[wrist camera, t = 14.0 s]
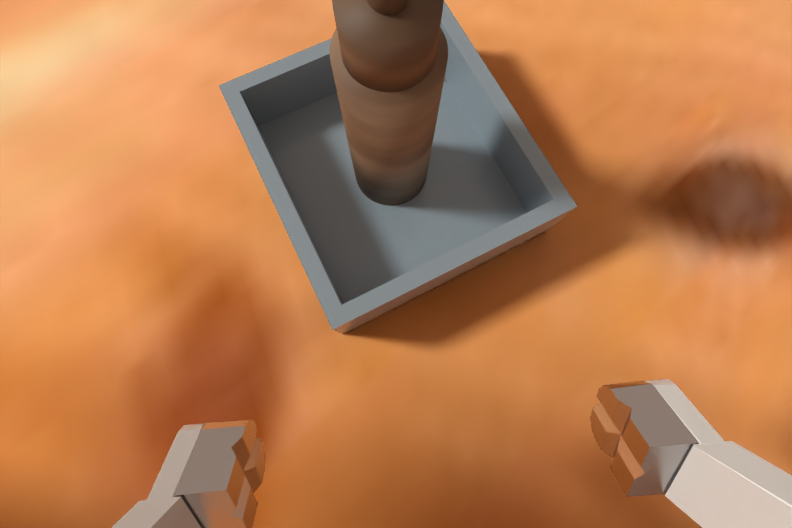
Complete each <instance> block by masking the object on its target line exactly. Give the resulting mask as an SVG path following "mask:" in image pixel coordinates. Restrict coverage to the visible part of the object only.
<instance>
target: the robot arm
mask: <svg viewBox="0 0 792 528" xmlns="http://www.w3.org/2000/svg"><path fill="white" fill-rule="evenodd" d="M597 397H598V399H599V401H600V403H598V404H597V405H596V406H595V407H594V408H593V409H592V413H591V417H590V419H591V427H592V431H593V434H594V437H595V439H596V441H597V443H598V445H599V447H600V449H601V450H603V451H604V452H605V453H607V454H608V455H610V456H611V457H612V462H611V469H612V471H613V472H614V474H615V476H616V478H617V480H618V481H619V483H620V485H621V487H622V489H623V490H624V492H625V494H626V496H641V495H654V494H666V495H665V496H666V497H667V498H668V499H669V500H670V501H671V502H673V503H674V504H675V505H676V506H677V507H679V508H680V509H681V510H682V511H683V512H684V513H686V514H687V515H688V516H689V517H690V518H691V519H693V520H694V521H695V522H696V523H697V524H698V525H700V526H701V527H702V528H792V475H790V474H788V473H787V472H785V471H783V470H781V469H780V468H778V467H776V466H774V465H773V464H771V463H769V462H768V461H766V460H764V459H762V458H761V457H759V456H757V455H755V454H754V453H752V452H750V451H748V450H747V449H745V448H743V447H741V446H740V445H738V444H736V443H734V442H733V441H724V440H723V439H722V438H721V436H720V435H719V434H718V433H717V432H716V431H715V429H714V428H713V427H712V426H711V425H710V424H709V422H708V421H707V420H706V419H705V418H704V417H703V415H702V414H701V413H700V412H699V411H698V410H697V409H696V407H695V406H694V405H693V404H692V403H691V402H690V400H689V399H688V398H687V397H686V396H685V395H684V393H683V392H682V391H681V390H680V389H679V388H678V386H677V385H676V384H675V383H674V382H672V381H671V380H669V379H660V380H651V381H636V382H627V383H618V384H609V385H603V386H602V387H600V388H599V390H598V393H597ZM256 431H257V427H256V425H255V423H254V421H253V420H244V421H230V422H216V423H203V424H191V425H184V426H183V427H182V428H181V429H180V430H179V431H178V433H177V435H176V437H175V439H174V441H173V444H172V446H171V448H170V450H169V452H168V455H167V457H166V459H165V461H164V463H163V465H162V468H161V470H160V472H159V474H158V476H157V479H156V481H155V483H154V485H153V487H152V490H151V492H150V494H149V496H148V498H147V500H140V501H139V502H138V503H137V504H136V505H134V506H133V507H132V508H131V509H130V510H129V511H128V512H127V513H126V514H125V515H124V516H123V517H122V518H121V519H120V520H119V521H118V522H117V523H115V524H114V525H113V526H112V527H111V528H252V527H253V523H254V518H255V514H256V509H257V505H258V502H257V500H256V498H255V496H254V494H253V493H254V492H255V491H256V490H257V489H258V487H259V486H260V485H261V484H262V482H263V477H264V472H265V460H266V455H265V449H264V445H263V442H262V440H260V439H258V438H257V437H255V435H256Z"/></svg>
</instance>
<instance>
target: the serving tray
mask: <svg viewBox="0 0 792 528" xmlns="http://www.w3.org/2000/svg"><path fill="white" fill-rule="evenodd" d="M440 27H441V29H442V31H443V33H444V34H445V37H446V40H447V44H448V61H447V66H446V72H445V77H444V83H443V88H442V94H441V100H440V105H439V111H438V116H437V122H436V127H435V133H434V138H433V144H432V149H431V155H430V160H429V166H428V171H427V177H426V181H425V184H424V186H423V188H422V190H421V191H420V192H419V194H418V195H417V196H416V197H414V198H413V199H412V200H410V201H408V202H406V203H403V204H400V205H393V206H389V205H382V204H379V203H376V202H374V201H372V200H370V199H369V198H368V197H366V196H365V195H364V194H363V192H362V191H361V190H360V188H359V186H358V184H357V181H356V177H355V173H354V168H353V163H352V159H351V154H350V149H349V145H348V140H347V136H346V131H345V126H344V122H343V117H342V113H341V108H340V103H339V99H338V94H337V89H336V85H335V80H334V76H333V71H332V66H331V62H330V43H331V40H332V38H331V39H329V40H327V41H324V42H322V43H319V44H317V45H315V46H312V47H310V48H307V49H305V50H303V51H300V52H298V53H295V54H293V55H291V56H288V57H286V58H283V59H281V60H279V61H276V62H274V63H271V64H269V65H267V66H264V67H262V68H259V69H257V70H255V71H252V72H250V73H247V74H245V75H243V76H240V77H238V78H235V79H233V80H231V81H228V82H226V83H223V84H221V85H219V87H220V89H221V91H222V94H223V96H224V98H225V100H226V102H227V104H228V106H229V109H230V111H231V113H232V115H233V117H234V119H235V121H236V124H237V126H238V128H239V130H240V132H241V134H242V136H243V139H244V141H245V143H246V145H247V147H248V149H249V151H250V154H251V156H252V158H253V160H254V162H255V164H256V166H257V169H258V171H259V173H260V175H261V177H262V179H263V182H264V184H265V186H266V188H267V190H268V192H269V194H270V197H271V199H272V201H273V203H274V205H275V207H276V209H277V212H278V214H279V216H280V218H281V220H282V222H283V224H284V227H285V229H286V231H287V233H288V235H289V237H290V239H291V242H292V244H293V246H294V248H295V250H296V252H297V254H298V257H299V259H300V261H301V263H302V265H303V267H304V269H305V272H306V274H307V276H308V278H309V280H310V282H311V284H312V287H313V289H314V291H315V293H316V295H317V297H318V299H319V302H320V304H321V306H322V308H323V310H324V312H325V314H326V317H327V319H328V321H329V323H330V325H331V327H332V330H334V331H337V332H339V333H342V334H345V333H347V332H349V331H351V330H353V329H355V328H357V327H359V326H361V325H363V324H365V323H367V322H369V321H371V320H373V319H375V318H377V317H379V316H381V315H383V314H385V313H387V312H388V311H390V310H392V309H394V308H396V307H398V306H400V305H402V304H404V303H406V302H408V301H410V300H412V299H414V298H416V297H418V296H420V295H422V294H424V293H426V292H428V291H430V290H432V289H434V288H436V287H438V286H440V285H442V284H444V283H446V282H448V281H450V280H452V279H454V278H456V277H458V276H460V275H461V274H463V273H465V272H467V271H469V270H471V269H473V268H475V267H477V266H479V265H481V264H483V263H485V262H487V261H489V260H491V259H493V258H495V257H497V256H499V255H501V254H503V253H505V252H507V251H509V250H511V249H513V248H515V247H517V246H519V245H521V244H523V243H525V242H527V241H529V240H531V239H533V238H534V237H536V236H538V235H540V234H542V233H544V232H546V231H548V230H549V229H550V228H551V227H553V226H554V225H555V224H556V223H558V222H559V221H560V220H561V219H562V218H564V217H565V216H566V215H567V214H569V213H570V212H571V211H572V210H574V209H575V208H576V207H577V205H576V203H575V202H574V200H573V199H572V197H571V196H570V194H569V193H568V191H567V190H566V188H565V186H564V185H563V183H562V182H561V180H560V179H559V177H558V176H557V174H556V173H555V171H554V169H553V168H552V166H551V165H550V163H549V162H548V160H547V159H546V157H545V156H544V154H543V153H542V151H541V149H540V148H539V146H538V145H537V143H536V142H535V140H534V139H533V137H532V136H531V134H530V132H529V131H528V129H527V128H526V126H525V125H524V123H523V122H522V120H521V119H520V117H519V115H518V114H517V112H516V111H515V109H514V108H513V106H512V105H511V103H510V102H509V100H508V99H507V97H506V95H505V94H504V92H503V91H502V89H501V88H500V86H499V85H498V83H497V82H496V80H495V78H494V77H493V75H492V74H491V72H490V71H489V69H488V68H487V66H486V65H485V63H484V62H483V60H482V58H481V57H480V55H479V54H478V52H477V51H476V49H475V48H474V46H473V45H472V43H471V41H470V40H469V38H468V37H467V35H466V34H465V32H464V31H463V29H462V28H461V26H460V24H459V23H458V21H457V20H456V18H455V17H454V15H453V14H452V12H451V11H450V9H449V8H448V6H447V4H446V3H445V1H444V3H443V11H442V18H441V25H440Z"/></svg>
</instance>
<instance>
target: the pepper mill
mask: <svg viewBox="0 0 792 528" xmlns="http://www.w3.org/2000/svg"><path fill="white" fill-rule="evenodd" d="M332 3H333V10H334V15H335V21H336V27H337V28H336V30H335V32H334V34H333V37H332V40H331V43H330V62H331V66H332V71H333V76H334V80H335V85H336V89H337V94H338V99H339V103H340V108H341V113H342V117H343V122H344V126H345V131H346V136H347V140H348V145H349V149H350V154H351V159H352V163H353V168H354V173H355V177H356V181H357V184H358V186H359V188H360V190H361V191H362V192H363V194H364V195H365V196H366V197H368V198H369V199H370V200H372V201H374V202H376V203H379V204H382V205H389V206H393V205H400V204H403V203H406V202H408V201H410V200H412V199H413V198H414V197H416V196H417V195H418V194H419V192H420V191H421V190H422V188H423V186H424V184H425V181H426V177H427V171H428V166H429V160H430V155H431V149H432V144H433V138H434V133H435V127H436V122H437V116H438V111H439V105H440V100H441V94H442V88H443V83H444V77H445V72H446V66H447V61H448V44H447V40H446V37H445V34H444V33H443V31H442V29H441V27H440V25H441V18H442V11H443V3H444V0H332Z"/></svg>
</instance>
